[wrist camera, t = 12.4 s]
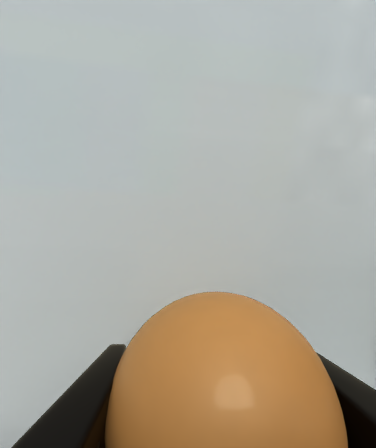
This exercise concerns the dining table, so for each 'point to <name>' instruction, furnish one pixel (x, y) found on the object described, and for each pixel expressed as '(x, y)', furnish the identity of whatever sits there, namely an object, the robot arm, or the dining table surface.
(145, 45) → the dining table surface
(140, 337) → the brown egg
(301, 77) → the dining table surface
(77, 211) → the dining table surface
